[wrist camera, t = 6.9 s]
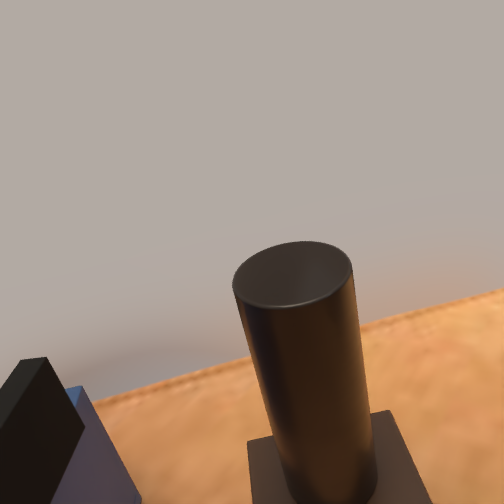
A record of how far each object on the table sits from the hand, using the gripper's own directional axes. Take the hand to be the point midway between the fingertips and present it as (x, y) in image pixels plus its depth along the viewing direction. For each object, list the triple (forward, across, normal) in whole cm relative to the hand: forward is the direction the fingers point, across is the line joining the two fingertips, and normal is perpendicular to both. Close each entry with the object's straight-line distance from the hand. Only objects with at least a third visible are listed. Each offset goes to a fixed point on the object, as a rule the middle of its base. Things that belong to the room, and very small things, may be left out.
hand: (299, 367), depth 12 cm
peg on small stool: (+1, 0, -12) cm, 12 cm away
